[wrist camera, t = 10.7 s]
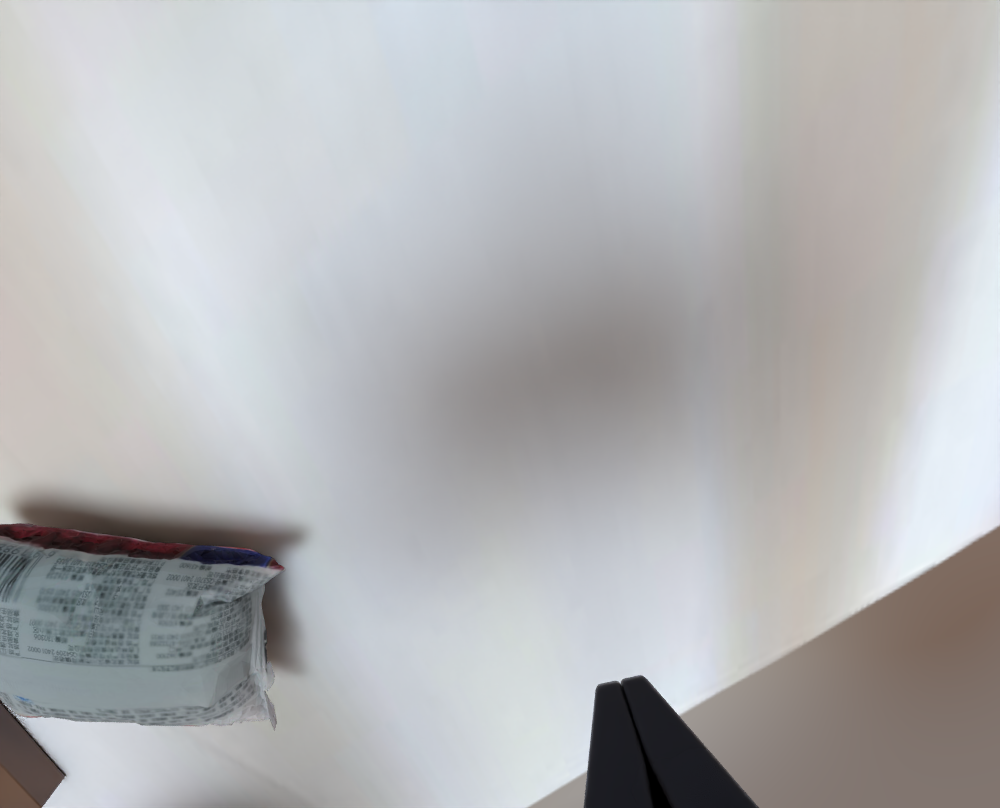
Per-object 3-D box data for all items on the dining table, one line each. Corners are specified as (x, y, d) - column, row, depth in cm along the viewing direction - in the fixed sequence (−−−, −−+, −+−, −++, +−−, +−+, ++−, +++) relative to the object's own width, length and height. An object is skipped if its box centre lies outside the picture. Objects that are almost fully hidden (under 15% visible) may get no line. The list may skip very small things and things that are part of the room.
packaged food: (295, 676, 23) (251, 785, 19) (34, 652, 22) (-83, 762, 18) (304, 526, 21) (255, 610, 16) (6, 489, 19) (-141, 568, 15)
